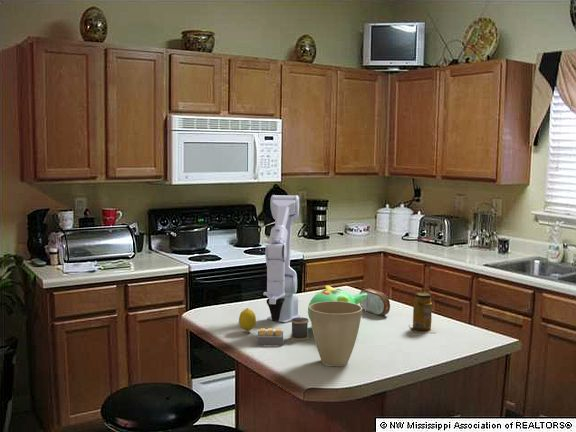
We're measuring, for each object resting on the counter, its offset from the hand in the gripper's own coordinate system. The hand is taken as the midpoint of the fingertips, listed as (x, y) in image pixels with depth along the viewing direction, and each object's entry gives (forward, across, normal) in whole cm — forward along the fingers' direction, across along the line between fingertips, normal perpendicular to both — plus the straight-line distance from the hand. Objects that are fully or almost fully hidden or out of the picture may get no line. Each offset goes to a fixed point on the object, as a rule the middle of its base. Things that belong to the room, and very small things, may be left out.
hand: (275, 320), depth 202 cm
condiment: (+4, -11, +48) cm, 50 cm away
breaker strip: (+4, +11, 0) cm, 12 cm away
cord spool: (+4, +5, +8) cm, 11 cm away
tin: (+4, -30, +32) cm, 44 cm away
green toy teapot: (+4, -5, +19) cm, 20 cm away
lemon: (+4, +1, -9) cm, 10 cm away
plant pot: (+4, +26, +21) cm, 33 cm away
